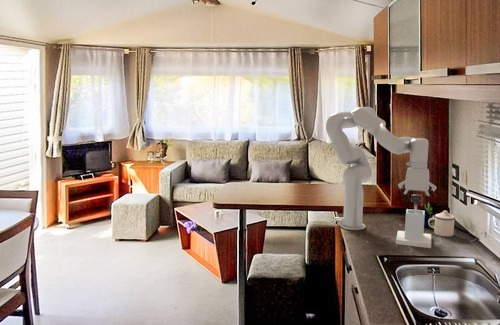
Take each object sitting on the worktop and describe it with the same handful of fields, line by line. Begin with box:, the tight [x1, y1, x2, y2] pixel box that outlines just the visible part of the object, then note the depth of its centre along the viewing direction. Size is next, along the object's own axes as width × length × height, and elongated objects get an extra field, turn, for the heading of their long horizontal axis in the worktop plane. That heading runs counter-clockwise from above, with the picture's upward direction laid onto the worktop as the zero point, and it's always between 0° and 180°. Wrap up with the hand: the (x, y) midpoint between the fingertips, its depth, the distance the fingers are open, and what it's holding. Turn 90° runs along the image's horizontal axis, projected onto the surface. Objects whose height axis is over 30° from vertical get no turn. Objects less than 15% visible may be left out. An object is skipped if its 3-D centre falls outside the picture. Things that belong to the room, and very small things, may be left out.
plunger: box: [410, 193, 423, 214], centre depth 206 cm, size 6×6×18 cm
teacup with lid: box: [427, 210, 456, 238], centre depth 218 cm, size 12×9×12 cm
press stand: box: [395, 208, 432, 249], centre depth 206 cm, size 15×15×14 cm
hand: (415, 202), depth 205 cm, fingers open, 8 cm apart
